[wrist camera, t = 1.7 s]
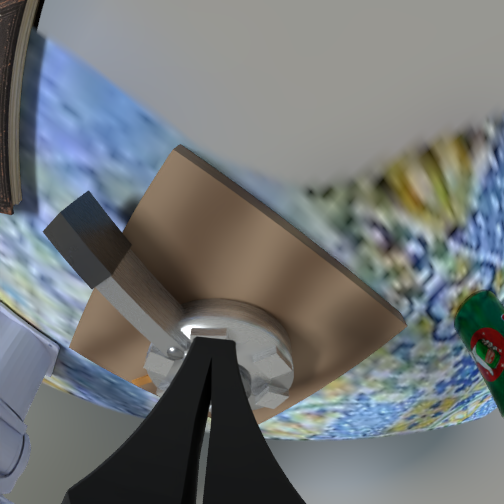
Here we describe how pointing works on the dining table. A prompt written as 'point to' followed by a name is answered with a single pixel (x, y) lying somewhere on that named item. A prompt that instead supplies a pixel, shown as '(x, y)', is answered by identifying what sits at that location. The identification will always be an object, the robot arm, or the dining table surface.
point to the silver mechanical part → (171, 307)
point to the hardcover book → (13, 91)
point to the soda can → (484, 339)
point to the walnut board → (238, 280)
